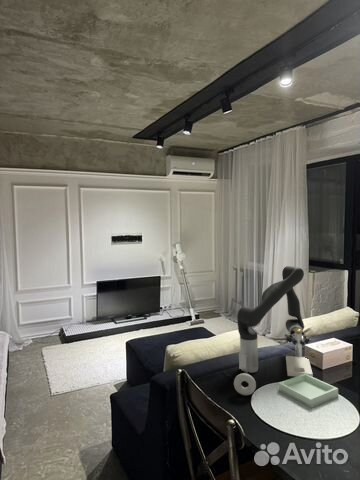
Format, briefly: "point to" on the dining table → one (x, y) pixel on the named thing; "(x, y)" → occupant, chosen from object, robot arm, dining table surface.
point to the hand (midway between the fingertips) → (298, 343)
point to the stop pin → (298, 342)
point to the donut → (247, 378)
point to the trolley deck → (298, 366)
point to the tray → (308, 390)
